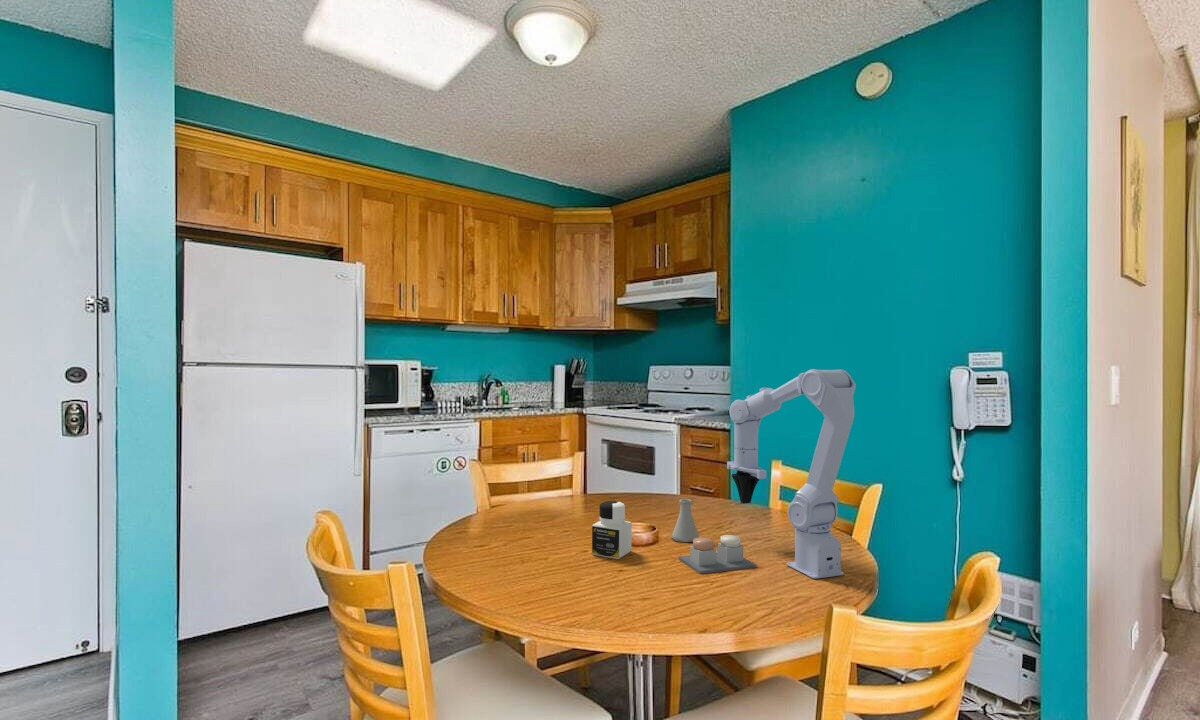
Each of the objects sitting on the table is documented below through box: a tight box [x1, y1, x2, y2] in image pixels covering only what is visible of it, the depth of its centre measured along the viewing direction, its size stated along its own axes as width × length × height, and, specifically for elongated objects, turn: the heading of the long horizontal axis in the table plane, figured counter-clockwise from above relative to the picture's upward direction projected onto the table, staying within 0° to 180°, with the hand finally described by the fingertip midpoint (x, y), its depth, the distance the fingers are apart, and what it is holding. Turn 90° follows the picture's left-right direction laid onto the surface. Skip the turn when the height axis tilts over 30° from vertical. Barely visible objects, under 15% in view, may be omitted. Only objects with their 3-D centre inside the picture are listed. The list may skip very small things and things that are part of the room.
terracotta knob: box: [692, 537, 714, 550], centre depth 133 cm, size 4×4×4 cm
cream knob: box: [719, 534, 741, 547], centre depth 135 cm, size 4×4×4 cm
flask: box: [670, 498, 700, 543], centre depth 152 cm, size 7×7×10 cm
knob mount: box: [678, 542, 757, 575], centre depth 134 cm, size 10×14×4 cm
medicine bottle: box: [591, 500, 633, 560], centre depth 140 cm, size 7×7×12 cm
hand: (745, 502), depth 148 cm, fingers closed
